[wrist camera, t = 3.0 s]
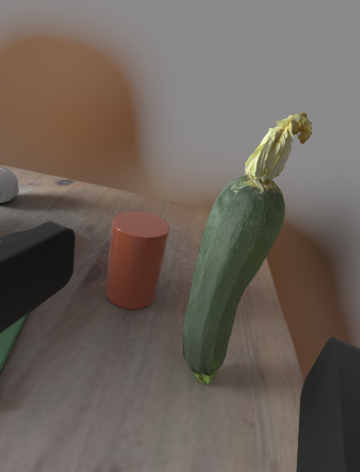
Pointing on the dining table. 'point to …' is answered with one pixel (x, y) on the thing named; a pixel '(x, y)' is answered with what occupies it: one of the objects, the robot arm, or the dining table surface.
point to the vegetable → (236, 247)
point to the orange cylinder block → (135, 258)
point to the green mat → (9, 340)
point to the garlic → (7, 185)
